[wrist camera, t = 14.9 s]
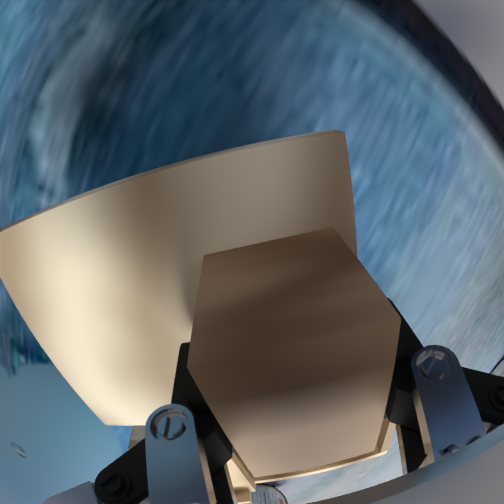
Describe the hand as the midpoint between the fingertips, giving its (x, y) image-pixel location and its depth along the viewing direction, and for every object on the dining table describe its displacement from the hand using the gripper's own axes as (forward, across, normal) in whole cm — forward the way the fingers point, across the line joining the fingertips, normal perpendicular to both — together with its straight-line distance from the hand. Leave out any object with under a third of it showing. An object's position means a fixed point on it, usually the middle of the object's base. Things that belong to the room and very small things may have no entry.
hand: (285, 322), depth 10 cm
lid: (+1, +4, 0) cm, 4 cm away
